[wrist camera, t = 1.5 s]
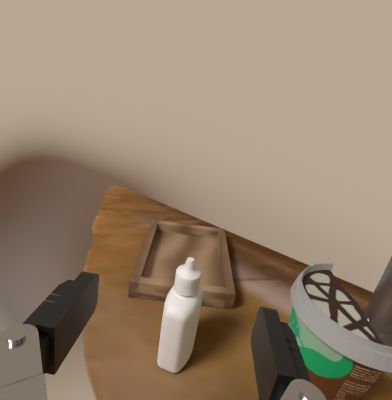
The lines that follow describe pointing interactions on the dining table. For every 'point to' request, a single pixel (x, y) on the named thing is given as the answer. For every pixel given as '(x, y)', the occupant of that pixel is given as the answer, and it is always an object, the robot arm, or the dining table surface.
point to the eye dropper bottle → (180, 318)
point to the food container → (335, 336)
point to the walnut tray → (183, 262)
